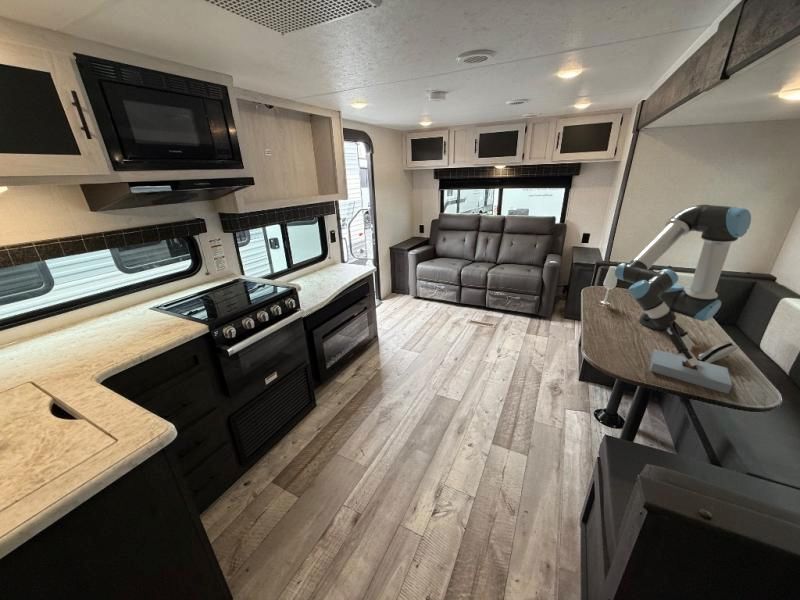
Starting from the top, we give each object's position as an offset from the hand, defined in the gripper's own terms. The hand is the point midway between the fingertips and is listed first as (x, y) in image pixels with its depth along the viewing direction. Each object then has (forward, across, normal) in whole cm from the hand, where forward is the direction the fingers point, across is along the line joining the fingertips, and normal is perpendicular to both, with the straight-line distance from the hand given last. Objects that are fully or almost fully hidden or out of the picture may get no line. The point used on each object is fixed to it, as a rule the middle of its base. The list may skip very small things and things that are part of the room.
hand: (694, 356), depth 127 cm
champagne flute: (-20, -62, -32) cm, 73 cm away
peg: (+6, 0, -6) cm, 9 cm away
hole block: (+6, 0, -6) cm, 9 cm away
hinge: (+14, -22, +1) cm, 26 cm away
